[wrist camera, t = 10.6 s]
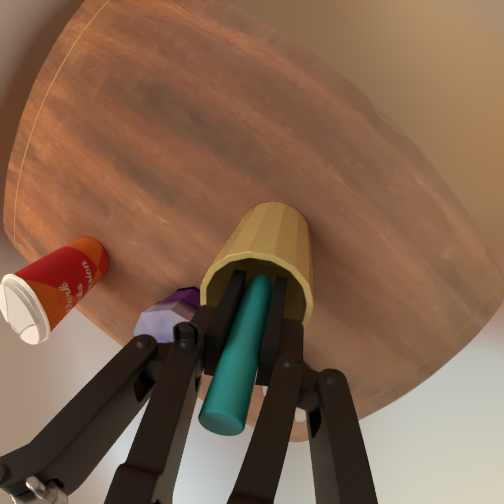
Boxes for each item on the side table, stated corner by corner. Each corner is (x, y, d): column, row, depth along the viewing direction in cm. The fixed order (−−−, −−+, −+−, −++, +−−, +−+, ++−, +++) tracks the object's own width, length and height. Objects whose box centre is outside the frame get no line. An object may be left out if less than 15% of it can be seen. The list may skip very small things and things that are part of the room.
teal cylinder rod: (248, 271, 19) (196, 406, 9) (275, 275, 19) (246, 417, 9) (246, 294, 20) (198, 430, 10) (272, 299, 20) (242, 440, 10)
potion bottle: (245, 319, 33) (219, 401, 22) (192, 345, 36) (156, 417, 25) (196, 260, 31) (144, 328, 20) (146, 295, 34) (93, 359, 23)
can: (242, 196, 27) (201, 243, 16) (314, 207, 26) (323, 262, 16) (236, 262, 30) (200, 337, 19) (303, 273, 29) (300, 354, 18)
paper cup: (101, 294, 35) (36, 359, 22) (64, 254, 34) (-8, 306, 21) (126, 259, 32) (49, 327, 19) (84, 215, 31) (-3, 263, 18)
